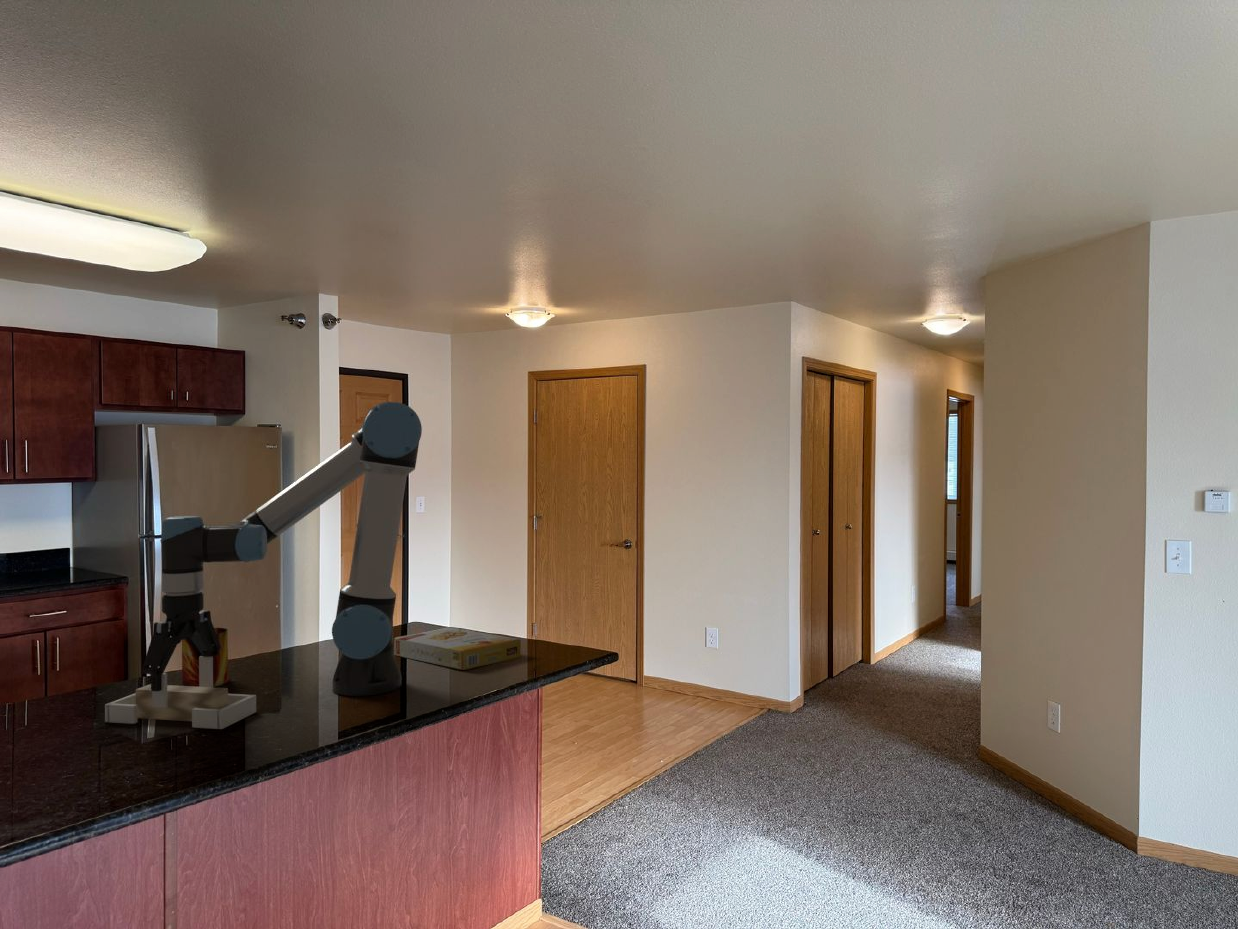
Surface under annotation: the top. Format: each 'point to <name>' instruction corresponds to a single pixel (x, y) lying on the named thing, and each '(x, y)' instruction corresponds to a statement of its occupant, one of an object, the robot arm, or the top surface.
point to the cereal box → (457, 648)
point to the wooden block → (180, 702)
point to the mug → (192, 655)
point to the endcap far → (122, 710)
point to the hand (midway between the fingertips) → (184, 697)
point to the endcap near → (225, 712)
